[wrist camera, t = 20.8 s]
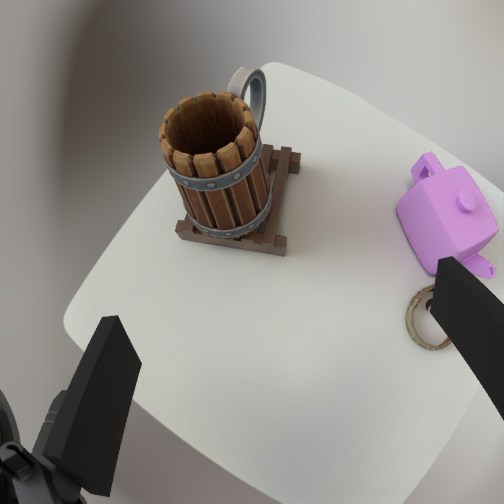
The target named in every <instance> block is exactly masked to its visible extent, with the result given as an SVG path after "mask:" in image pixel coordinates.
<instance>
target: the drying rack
mask: <svg viewBox="0 0 504 504" xmlns="http://www.w3.org/2000/svg"><path fill="white" fill-rule="evenodd" d="M262 155H263V160H264V164H265V169H266V173H267V174H268V173H269V170H274V171H276V176H275V181H274V186H273V191H272V204H271V207H270V211H269V213H268V216H267V221H266V225H265V230H264V233H261V232H256V230H254V231H253V232H251V233H249V234H248V235H246V236H245V235H241V236H240V237H239V238H236V239H222V238H220V237H219V238H213V237H211V236H208V235H206V234H205V233H203V232H202V231H201V230H199V229H198V228H197V227H196V226H195V225H194V224H193V223H192V222H191V220H190V218H189V216H188V213H187V214H186V217H185V221H182V220H178V222H177V225H176V229H175V232H176V233H177V234H178V236H179V237H180V238H181V239H183V240H189V241H195V242H201V243H207V244H213V245H219V246H225V247H232V248H238V249H244V250H250V251H256V252H262V253H268V254H274V255H280V256H285V252H286V246H287V237H286V236H280V235H276V234H277V229H278V224H279V218H280V213H281V207H282V202H283V197H284V191H285V186H286V180H287V174H288V173H295V174H299V169H300V159H301V153H296V152H292V148H291V147H283V146H282V147H281V150H273V145H267V144H263V147H262Z"/></svg>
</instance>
